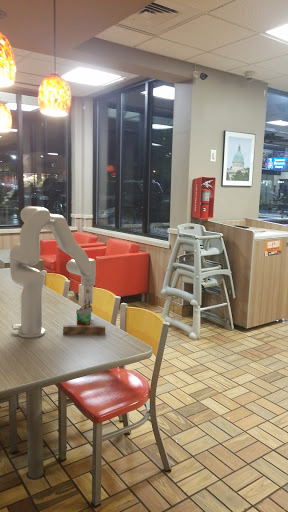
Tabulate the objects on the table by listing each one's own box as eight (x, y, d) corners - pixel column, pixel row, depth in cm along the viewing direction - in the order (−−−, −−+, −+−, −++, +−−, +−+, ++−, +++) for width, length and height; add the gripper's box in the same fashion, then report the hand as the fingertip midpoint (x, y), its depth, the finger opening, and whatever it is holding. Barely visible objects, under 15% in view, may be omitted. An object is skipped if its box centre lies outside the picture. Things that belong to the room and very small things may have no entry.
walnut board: (63, 334, 187) (63, 326, 186) (63, 332, 189) (63, 325, 188) (105, 335, 188) (105, 327, 188) (105, 333, 191) (105, 325, 190)
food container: (87, 330, 194) (88, 311, 192) (75, 329, 195) (76, 309, 194) (95, 322, 206) (96, 304, 204) (84, 321, 207) (84, 303, 205)
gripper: (94, 285, 202) (93, 319, 205) (95, 278, 217) (95, 310, 220) (80, 284, 201) (79, 319, 204) (82, 278, 216) (81, 310, 219)
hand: (87, 314), depth 212 cm, fingers closed
